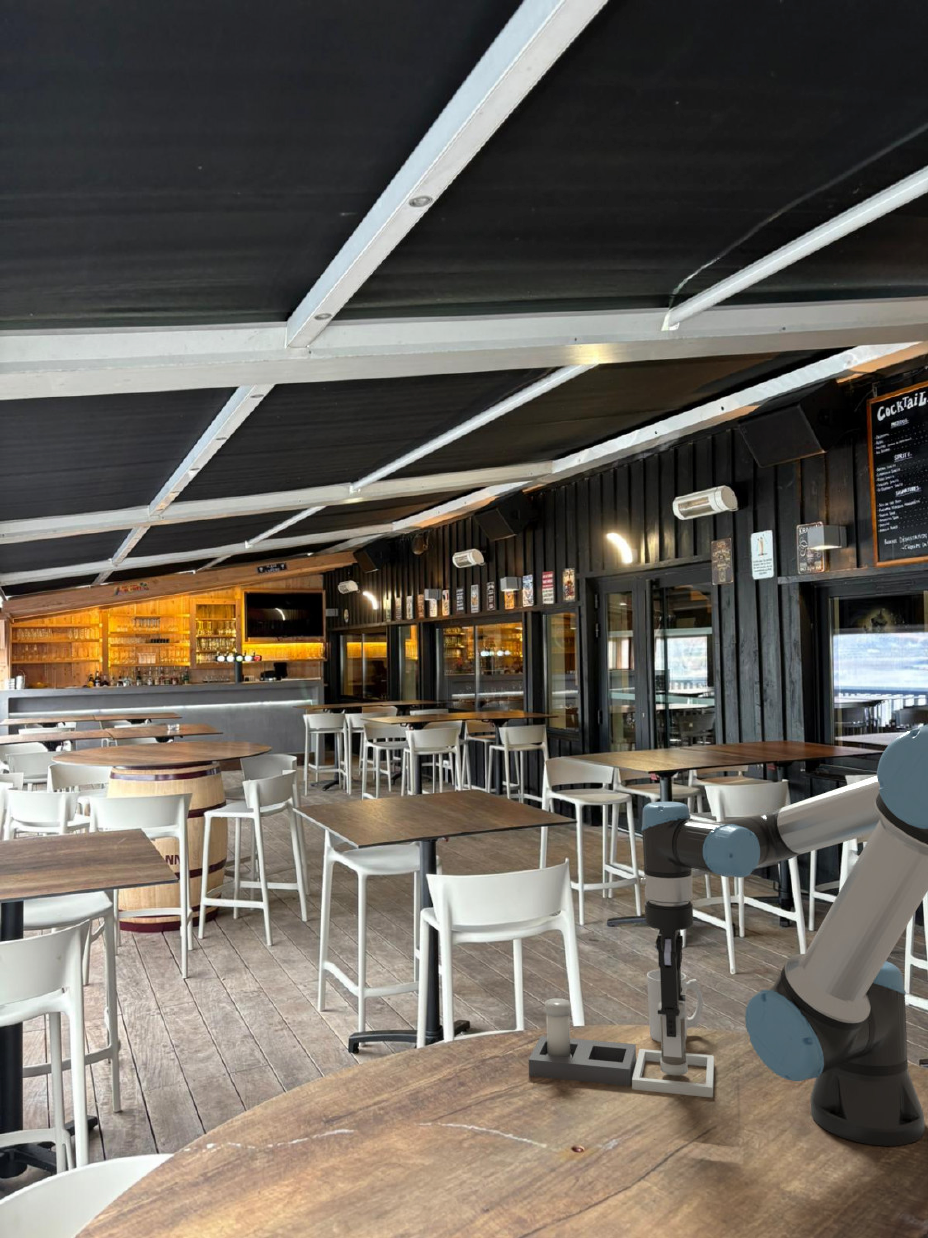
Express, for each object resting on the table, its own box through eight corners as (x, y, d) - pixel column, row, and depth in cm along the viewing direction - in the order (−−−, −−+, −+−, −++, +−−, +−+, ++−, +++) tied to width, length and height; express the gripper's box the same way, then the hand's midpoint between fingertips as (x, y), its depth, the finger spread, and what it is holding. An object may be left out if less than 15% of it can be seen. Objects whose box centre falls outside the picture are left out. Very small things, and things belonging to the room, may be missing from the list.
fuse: (574, 1061, 153) (572, 999, 153) (569, 1071, 149) (568, 1008, 149) (549, 1058, 154) (547, 997, 154) (544, 1069, 150) (542, 1006, 150)
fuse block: (636, 1069, 153) (635, 1044, 153) (630, 1096, 143) (629, 1069, 143) (541, 1059, 157) (540, 1035, 157) (529, 1085, 147) (528, 1059, 148)
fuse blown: (688, 1065, 148) (686, 1001, 148) (687, 1076, 144) (684, 1011, 144) (661, 1063, 149) (659, 999, 149) (659, 1074, 145) (657, 1009, 145)
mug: (657, 1054, 158) (654, 983, 159) (643, 1039, 165) (641, 970, 166) (712, 1049, 160) (709, 978, 161) (696, 1034, 166) (694, 966, 167)
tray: (714, 1074, 150) (713, 1055, 150) (713, 1107, 139) (712, 1087, 139) (640, 1066, 153) (639, 1049, 154) (632, 1099, 142) (632, 1079, 142)
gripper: (649, 887, 157) (653, 1027, 156) (639, 912, 140) (644, 1070, 139) (694, 889, 155) (699, 1031, 154) (690, 915, 138) (695, 1075, 137)
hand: (673, 1049), depth 146 cm, fingers closed on fuse blown, 4 cm apart
